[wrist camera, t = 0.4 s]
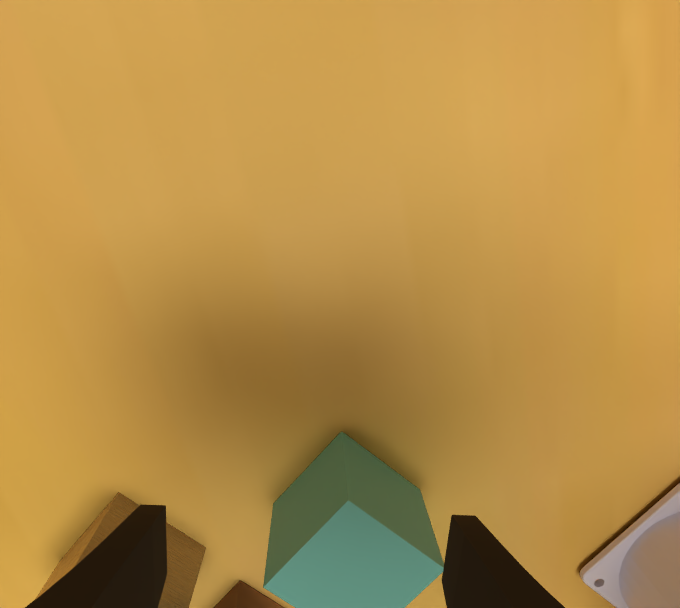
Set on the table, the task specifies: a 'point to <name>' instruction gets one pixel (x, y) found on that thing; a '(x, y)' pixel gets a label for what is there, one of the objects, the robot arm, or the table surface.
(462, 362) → the table surface
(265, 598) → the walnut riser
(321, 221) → the table surface
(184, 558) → the steel cube
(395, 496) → the teal cube
